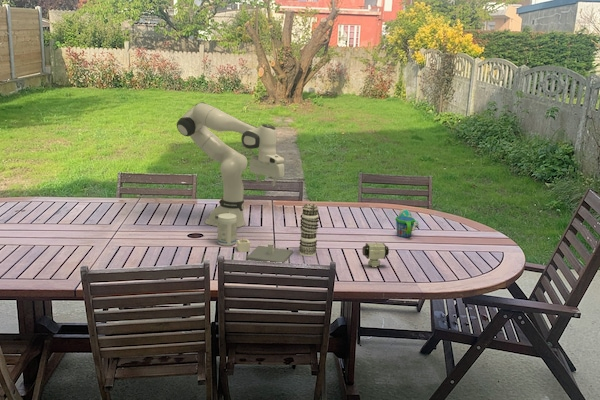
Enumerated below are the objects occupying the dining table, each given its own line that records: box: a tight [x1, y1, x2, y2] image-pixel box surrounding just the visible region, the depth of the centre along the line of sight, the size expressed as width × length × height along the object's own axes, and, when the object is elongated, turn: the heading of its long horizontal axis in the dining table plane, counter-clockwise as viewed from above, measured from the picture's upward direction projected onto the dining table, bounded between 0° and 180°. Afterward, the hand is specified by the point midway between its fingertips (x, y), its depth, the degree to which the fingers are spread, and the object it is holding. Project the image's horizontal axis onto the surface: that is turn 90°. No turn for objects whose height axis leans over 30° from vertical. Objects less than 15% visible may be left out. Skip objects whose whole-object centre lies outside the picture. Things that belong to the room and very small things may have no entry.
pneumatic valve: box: [361, 242, 390, 268], centre depth 286 cm, size 6×12×12 cm, turn 99°
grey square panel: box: [246, 242, 294, 264], centre depth 292 cm, size 18×18×6 cm
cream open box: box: [236, 238, 251, 253], centre depth 299 cm, size 6×6×5 cm
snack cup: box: [395, 215, 416, 238], centre depth 336 cm, size 16×10×10 cm
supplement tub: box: [217, 213, 238, 247], centre depth 306 cm, size 10×10×15 cm
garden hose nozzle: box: [398, 208, 420, 231], centre depth 359 cm, size 7×18×20 cm
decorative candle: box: [298, 203, 320, 257], centre depth 297 cm, size 9×9×25 cm
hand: (265, 184), depth 307 cm, fingers open, 8 cm apart
